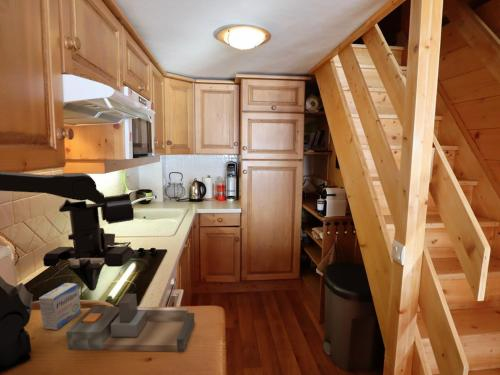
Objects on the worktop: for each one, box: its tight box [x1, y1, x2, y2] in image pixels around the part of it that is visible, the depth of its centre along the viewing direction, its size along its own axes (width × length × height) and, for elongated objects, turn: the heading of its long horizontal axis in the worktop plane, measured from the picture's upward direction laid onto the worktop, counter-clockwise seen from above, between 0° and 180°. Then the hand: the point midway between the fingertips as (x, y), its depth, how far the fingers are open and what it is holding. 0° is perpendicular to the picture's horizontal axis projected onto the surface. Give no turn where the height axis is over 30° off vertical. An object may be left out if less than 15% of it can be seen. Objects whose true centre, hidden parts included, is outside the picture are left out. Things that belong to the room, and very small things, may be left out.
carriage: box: [111, 293, 147, 337], centre depth 67 cm, size 6×6×8 cm
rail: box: [65, 305, 196, 353], centre depth 68 cm, size 26×10×4 cm, turn 88°
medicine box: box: [38, 282, 82, 331], centre depth 74 cm, size 8×4×9 cm, turn 169°
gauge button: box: [83, 313, 102, 323], centre depth 68 cm, size 3×3×4 cm
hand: (93, 289), depth 68 cm, fingers closed
